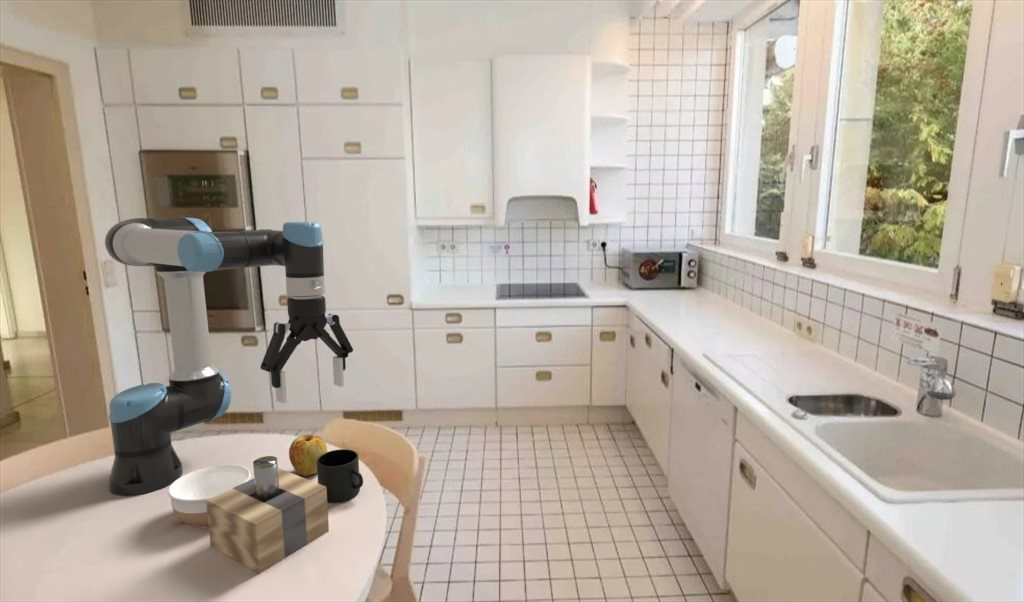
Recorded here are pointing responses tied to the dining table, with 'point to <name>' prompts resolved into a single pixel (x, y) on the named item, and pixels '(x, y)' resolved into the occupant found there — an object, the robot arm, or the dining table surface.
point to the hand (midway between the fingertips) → (311, 393)
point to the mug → (339, 474)
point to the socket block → (267, 521)
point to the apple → (306, 453)
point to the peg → (266, 478)
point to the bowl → (203, 491)
